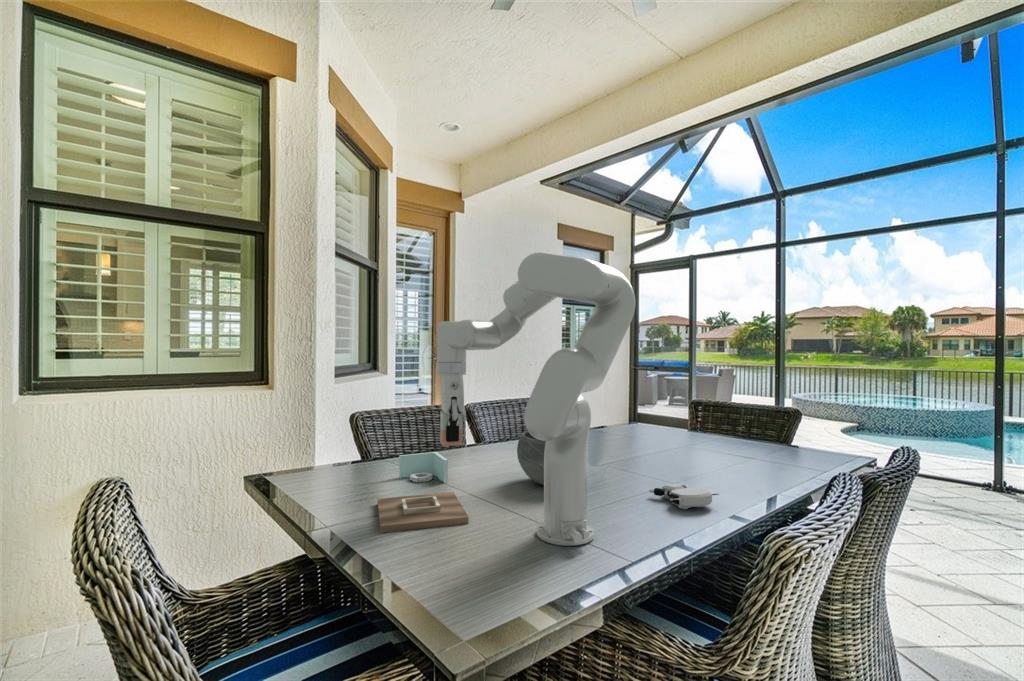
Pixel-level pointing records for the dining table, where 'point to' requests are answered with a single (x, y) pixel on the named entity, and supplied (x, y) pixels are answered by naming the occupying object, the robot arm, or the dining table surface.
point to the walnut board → (420, 512)
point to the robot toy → (684, 495)
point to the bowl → (531, 456)
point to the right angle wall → (423, 466)
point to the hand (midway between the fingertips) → (450, 438)
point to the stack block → (443, 430)
